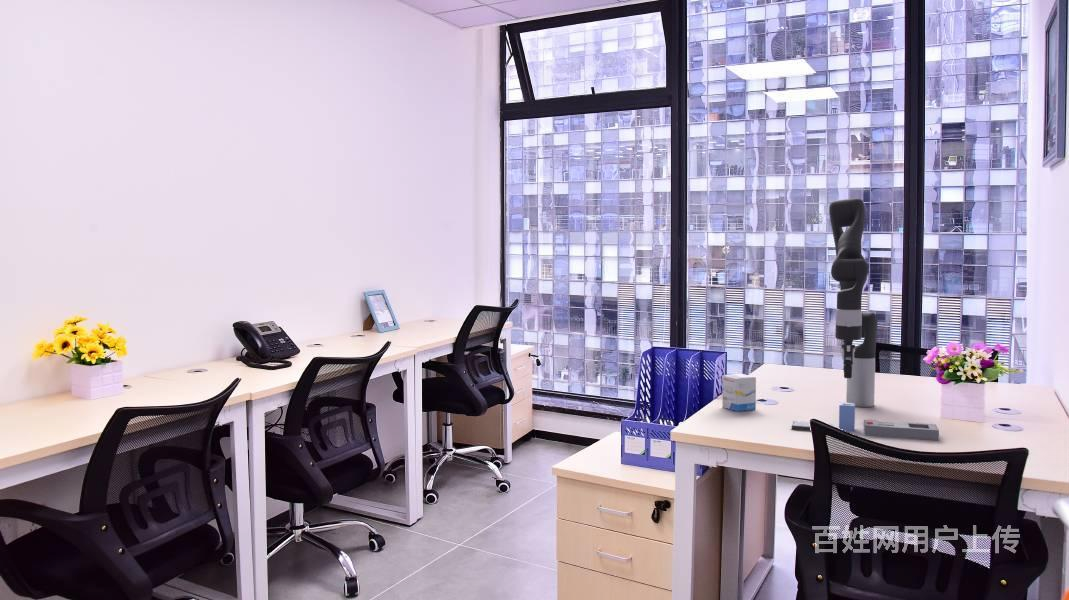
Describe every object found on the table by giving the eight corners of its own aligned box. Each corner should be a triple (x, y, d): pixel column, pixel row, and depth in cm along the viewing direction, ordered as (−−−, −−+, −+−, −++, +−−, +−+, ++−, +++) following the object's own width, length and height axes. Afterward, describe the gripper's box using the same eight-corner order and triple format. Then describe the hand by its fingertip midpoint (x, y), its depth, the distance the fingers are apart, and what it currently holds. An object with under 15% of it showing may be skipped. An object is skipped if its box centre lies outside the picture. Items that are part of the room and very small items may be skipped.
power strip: (863, 429, 244) (863, 418, 243) (935, 434, 236) (935, 422, 236) (864, 435, 236) (864, 423, 236) (938, 440, 229) (939, 428, 229)
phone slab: (792, 424, 251) (792, 420, 250) (832, 427, 246) (832, 423, 246) (791, 429, 244) (791, 425, 244) (832, 432, 240) (832, 428, 240)
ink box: (756, 409, 273) (756, 376, 272) (736, 411, 270) (736, 378, 269) (741, 405, 281) (741, 372, 280) (721, 407, 278) (721, 374, 277)
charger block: (838, 427, 246) (839, 401, 246) (854, 428, 245) (854, 402, 244) (839, 430, 242) (839, 404, 242) (854, 431, 241) (854, 405, 240)
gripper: (835, 321, 249) (834, 371, 250) (835, 325, 236) (834, 378, 237) (861, 321, 246) (859, 372, 247) (862, 326, 233) (861, 380, 234)
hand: (847, 375), depth 242 cm, fingers open, 8 cm apart
